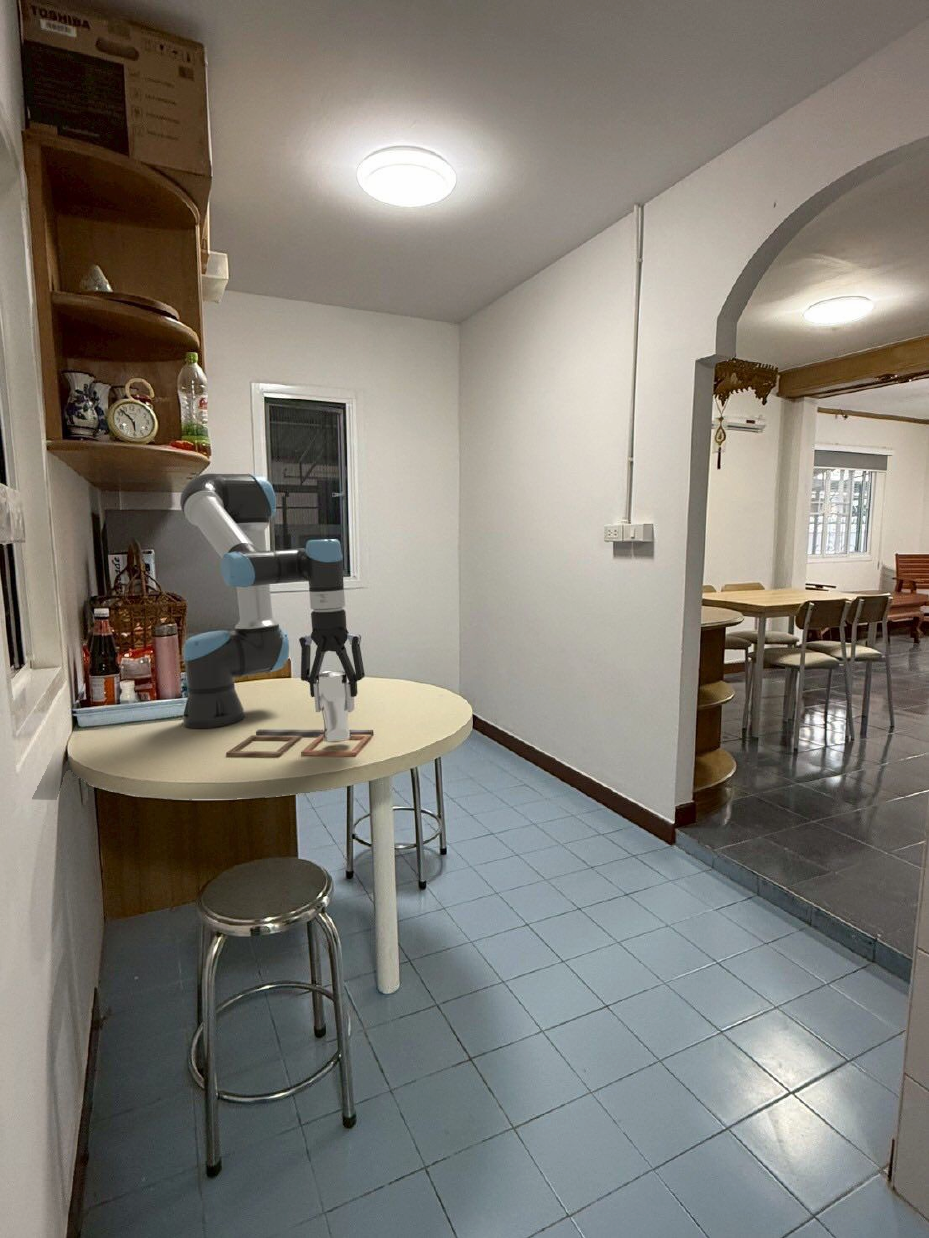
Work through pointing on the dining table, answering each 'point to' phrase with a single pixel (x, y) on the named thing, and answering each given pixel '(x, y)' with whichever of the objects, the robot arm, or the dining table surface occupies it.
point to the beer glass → (334, 705)
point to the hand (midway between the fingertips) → (335, 710)
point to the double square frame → (296, 736)
